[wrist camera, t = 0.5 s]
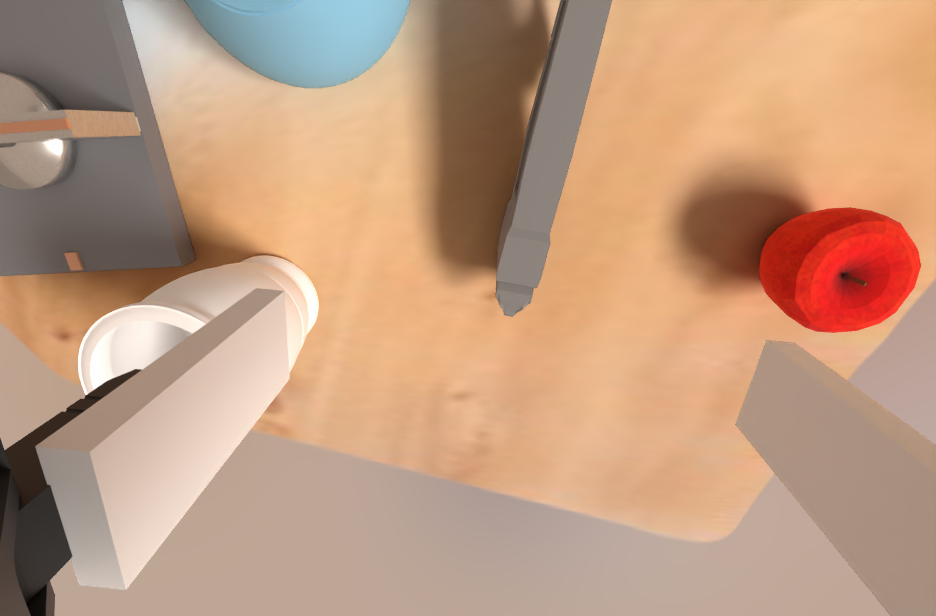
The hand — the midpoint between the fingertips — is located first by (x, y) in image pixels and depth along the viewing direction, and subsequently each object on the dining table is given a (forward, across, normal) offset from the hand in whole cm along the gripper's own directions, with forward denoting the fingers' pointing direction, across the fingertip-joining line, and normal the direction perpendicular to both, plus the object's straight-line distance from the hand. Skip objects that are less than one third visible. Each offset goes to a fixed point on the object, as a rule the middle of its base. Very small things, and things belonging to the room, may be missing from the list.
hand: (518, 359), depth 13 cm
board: (+27, -36, +2) cm, 45 cm away
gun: (+27, +3, +6) cm, 28 cm away
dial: (+24, -34, +2) cm, 42 cm away
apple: (+27, +24, -2) cm, 36 cm away
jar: (+27, -19, -10) cm, 34 cm away
